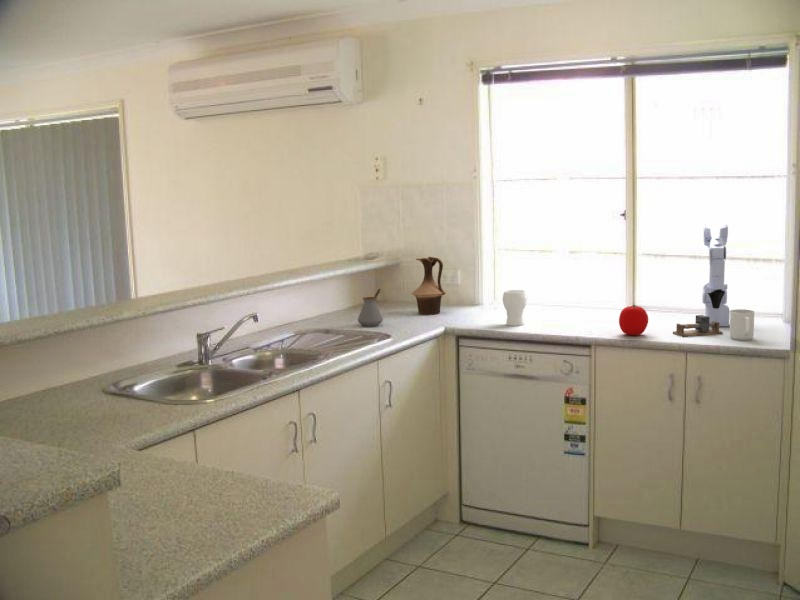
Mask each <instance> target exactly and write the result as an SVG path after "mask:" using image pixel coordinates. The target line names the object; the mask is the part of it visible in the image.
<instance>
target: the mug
mask: <svg viewBox="0 0 800 600" xmlns="http://www.w3.org/2000/svg"><path fill="white" fill-rule="evenodd" d="M729 311H730V313H729V324H730V326H729V337H730V338H731V340H734V339H735V340H734V341H742V340H745V341H751V340H752V339H753V338H754V336H755V333H754V331H755V311H754V310H751V309H740V308H739V309H731V310H729Z"/></svg>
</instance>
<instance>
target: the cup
mask: <svg viewBox="0 0 800 600" xmlns="http://www.w3.org/2000/svg"><path fill="white" fill-rule="evenodd" d="M527 300H528V297H527V292H526V290H522V289H508V290H505V291H503V295H502V303H503V306H504V309H505V311H506V316H507V317H506V324H505V325H506V326H510V327H511V326H512V327H513V326H514V327H516V326H517V327H518V326H519V327H520V326H523V325H524V318H523V316H524V315H523V314H524V309H525V307H526V305H527V303H528V302H527Z"/></svg>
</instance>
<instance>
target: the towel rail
mask: <svg viewBox="0 0 800 600" xmlns="http://www.w3.org/2000/svg"><path fill="white" fill-rule="evenodd" d="M695 328H701V323H697V324H696V323H686V324H684V323H683V324H681V323H676V331H672V334H673V335H676V336H679V337H681V336H682V338H687V337H688V336H690V337H704V336H713V335H714V336H715V335H723V334H724V332H723V331H721V330H720V326H719V322H715V321H712V322H711V323H709V332H701V331H698V330H695ZM685 329H686V330H685ZM690 329H691V330H690Z"/></svg>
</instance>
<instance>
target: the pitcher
mask: <svg viewBox="0 0 800 600" xmlns="http://www.w3.org/2000/svg"><path fill="white" fill-rule="evenodd" d="M415 260H416V261H419V262H420V263H421V264H422V266H423V272H424V274H423V279H422V283H421V284H420V285H419V286H418V287H417V288H416V289H414V291H412V292H411V294H412V295H413V296H414V297H415V298H416V304H417V311H418V314H419V315H428V316H429V315H437V314H441V304H442V303H441V302H442V297H443V296H444V295H446V294H447V291H446V290H444V289H443V287H442V284H441V278H442V274H443V267H444V264H443V261H442V259H441V258H439V257H434V256H428V257H419V258H416V259H415ZM437 263H438V273H437V283H436V281H435V280H434V277H433V268H434V267H435V266H436V264H437Z"/></svg>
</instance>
